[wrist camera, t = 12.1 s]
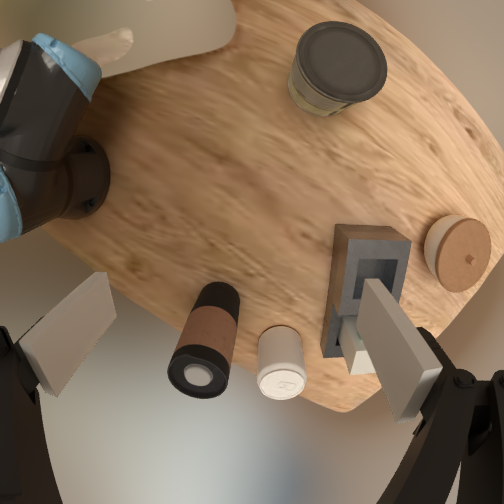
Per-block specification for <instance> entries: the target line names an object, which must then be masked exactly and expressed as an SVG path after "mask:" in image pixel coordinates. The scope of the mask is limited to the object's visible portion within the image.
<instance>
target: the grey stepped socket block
mask: <svg viewBox="0 0 504 504" xmlns="http://www.w3.org/2000/svg"><path fill="white" fill-rule="evenodd" d="M411 242H412V241H411V240H409V239H408V238H406V237H405V236H404V235H402V234H401V233H399V232H398V231H396V230H395V229H393V228H392V227H390V226H369V225H346V224H335V235H334V246H333V256H332V265H331V274H330V282H329V290H328V297H327V305H326V311H325V318H324V325H323V331H322V337H321V343H320V346H321V350H322V354H323V358H333V357H344V355H343V352H342V349H341V346H340V343H339V340H338V337H337V335H338V329H339V324H340V319H341V317H345V316H358V312H359V308H360V303H361V297H362V292H363V287H364V281H365V279H379V280H380V281H381V282H382V283H383V285H384V286H385V287H386V288H387V290H388V291H389V292H390V294H391V295H392V296H393V297H394V299H395V300H396V301H397V303H398V304H399V300H400V296H401V292H402V287H403V283H404V279H405V274H406V269H407V264H408V259H409V254H410V248H411Z"/></svg>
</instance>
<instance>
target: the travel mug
mask: <svg viewBox="0 0 504 504" xmlns="http://www.w3.org/2000/svg"><path fill="white" fill-rule="evenodd" d="M239 304H240V299H239V295H238V293H237V291H236V290H235V289H234V288H233V287H232V286H231V285H229V284H227V283H224V282H213V283H210V284H208V285H207V286H205V287H204V288H203V290H202V291H201V293H200V295H199V297H198V299H197V301H196V303H195V305H194V307H193V309H192V311H191V313H190V315H189V317H188V319H187V322H186V324H185V327H184V329H183V331H182V334H181V336H180V339H179V341H178V344H177V346H176V349H175V352H174V354H173V356H172V359H171V361H170V364H169V366H168V371H167V373H168V378H169V380H170V382H171V383H172V385H173V386H174V387H175V388H176V389H178V390H179V391H180V392H182V393H184V394H186V395H188V396H190V397H194V398H200V399H209V398H214V397H217V396H219V395H221V394H222V393H223V392H224V391H225V389H226V387H227V385H228V379H229V373H230V367H231V362H232V356H233V350H234V344H235V339H236V333H237V324H238V315H239Z"/></svg>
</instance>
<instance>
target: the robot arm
mask: <svg viewBox="0 0 504 504" xmlns="http://www.w3.org/2000/svg"><path fill="white" fill-rule="evenodd" d="M101 76H102V72H101V68H100V66H99V65H98V64H97V63H96V62H94V61H93V60H92V59H90V58H89V57H87V56H86V55H84V54H83V53H81V52H79V51H78V50H76V49H74V48H72V47H71V46H69V45H67V44H65V43H63V42H60V41H59V40H57V39H54V38H53V37H51V36H49V35H47V34H44V33H39V34H37V35H36V36H35V37H34V38H33V39H32V42H28V41H24V40H21V39H20V40H18V41H16V42H14V43H13V44H11V45H9V46H7V47H5V48H0V243H2V242H5V241H7V240H10V239H13V238H18V237H19V236H21V235H23V234H25V233H27V232H29V231H30V230H33V229H35V228H37V227H39V226H41V225H43V224H45V223H47V222H49V221H51V220H53V219H56V218H63V219H80V218H83V217H85V216H88V215H90V214H92V213H93V212H95V211H96V210H97V209H98V208H99V207H100V206H101V204H102V203H103V201H104V199H105V197H106V195H107V192H108V188H109V183H110V168H109V163H108V159H107V157H106V154H105V152H104V150H103V149H102V147H101V146H100V145H99V144H98V143H97V142H96V141H95V140H93V139H92V138H90V137H87V136H74V133H75V131H76V129H77V127H78V125H79V122H80V120H81V118H82V116H83V114H84V112H85V110H86V108H87V106H88V104H89V103H91V101H92V96H93V93H94V91H95V89H96V87H97V85H98V83H99V81H100V79H101ZM116 317H117V316H116V311H115V308H114V303H113V299H112V295H111V290H110V286H109V281H108V276H107V272H95V273H93V274H92V275H91V276H90V277H89V278H87V279H86V280H85V281H84V282H83V283H81V284H80V285H79V286H78V287H77V288H76V289H75V290H73V291H72V292H71V293H70V294H69V295H68V296H66V297H65V298H64V299H63V300H62V301H61V302H60V303H59V304H57V305H56V306H55V307H54V308H53V309H52V310H51V311H50V312H49V313H48V314H46V315H45V316H43V317H42V318H40V319H39V320H38V321H37V322H36V324H35V325H33V326H32V327H31V329H29V330H28V331H27V332H26V333H25V334H24V335H23V336H22V337H21V338H20V339H19V340H18V341H17V342H16V343H15V344H13V342H12V340H11V337H10V335H9V333H8V330H7V329H6V328H5V327H4V326H0V504H63V503H62V500H61V497H60V494H59V490H58V487H57V484H56V481H55V477H54V473H53V470H52V466H51V462H50V458H49V453H48V449H47V444H46V439H45V433H44V428H43V421H42V414H41V406H40V398H39V392H38V390H37V388H36V386H37V385H38V384H39V383H40V384H41V386H42V388H43V390H44V391H45V393H48V394H50V395H53V396H55V397H58V396H59V394H60V393H61V391H62V390H63V388H64V387H65V386H66V384H67V383H68V381H69V380H70V378H71V377H72V376H73V374H74V373H75V371H76V370H77V368H78V367H79V366H80V364H81V363H82V362H83V360H84V359H85V358H86V356H87V355H88V354H89V352H90V351H91V349H92V348H93V347H94V346H95V344H96V343H97V341H98V340H99V339H100V338H101V336H102V335H103V334H104V332H105V331H106V330H107V328H108V327H109V326H110V325H111V323H112V322H113V321H114V320H115V318H116ZM356 328H357V330H358V332H359V334H360V336H361V339H362V341H363V343H364V346H365V348H366V350H367V352H368V355H369V357H370V359H371V362H372V364H373V366H374V369H375V371H376V374H377V376H378V378H379V381H380V383H381V386H382V388H383V391H384V393H385V396H386V398H387V401H388V403H389V406H390V408H391V411H392V414H393V416H394V419H395V422H396V424H399V423H403V422H408V421H412V420H414V419H415V417H416V416H417V414H418V412H419V410H420V411H421V413H422V416H423V419H422V420H421V422H420V423H419V425H418V426H417V428H416V429H415V431H414V432H413V435H414V437H413V439H412V442H411V443H410V446H409V448H408V450H407V452H406V454H405V456H404V457H403V459H402V461H401V463H400V465H399V467H398V469H397V471H396V472H395V474H394V476H393V478H392V479H391V481H390V483H389V484H388V486H387V488H386V489H385V491H384V493H383V494H382V496H381V497H380V499H379V501H378V502H377V503H376V504H445V502H446V500H447V498H448V495H449V493H450V490H451V487H452V485H453V482H454V480H455V477H456V474H457V471H458V468H459V465H460V462H461V470H460V480H459V489H458V496H457V503H456V504H504V370H499V371H497V372H495V373H494V375H493V377H492V379H491V380H490V381H477V380H476V378H475V376H474V375H473V374H472V373H470V372H468V371H466V370H464V369H456V368H455V366H454V365H453V363H452V362H451V360H450V359H449V358H448V356H447V355H446V354H445V352H444V351H443V349H441V346H440V345H439V344H438V343H437V342H436V340H435V338H434V337H433V335H432V334H431V333H430V332H428V331H427V330H426V329H424V328H423V327H415V326H414V324H413V323H412V322H411V320H410V319H409V317H408V316H407V315H406V313H405V312H404V311H403V309H402V308H401V307H400V305H399V304H398V303H397V301H396V300H395V299H394V297H393V296H392V295H391V294H390V292H389V291H388V290H387V288H386V287H385V286H384V285H383V283H382V282H381V281H380V280H379V279H365V281H364V287H363V292H362V297H361V303H360V308H359V312H358V317H357V322H356Z"/></svg>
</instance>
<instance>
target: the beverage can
mask: <svg viewBox="0 0 504 504" xmlns="http://www.w3.org/2000/svg"><path fill="white" fill-rule="evenodd" d="M306 380H307V375H306V368H305V361H304V355H303V349H302V342H301V338H300V336H299V334H298V333H297V332H296V331H295V330H293V329H292V328H289V327H285V326H277V327H273V328H270V329H268V330H266V331H265V332H264V333H263V334H262V335H261V337H260V339H259V343H258V365H257V383H258V386H259V388H260V390H261V391H262V393H263V394H265V395H266V396H267V397H269V398H272V399H278V400H284V399H289V398H292V397H295V396H297V395H298V394H299V393H300V392H301V391H302V390H303V388H304V385H305V383H306Z"/></svg>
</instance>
